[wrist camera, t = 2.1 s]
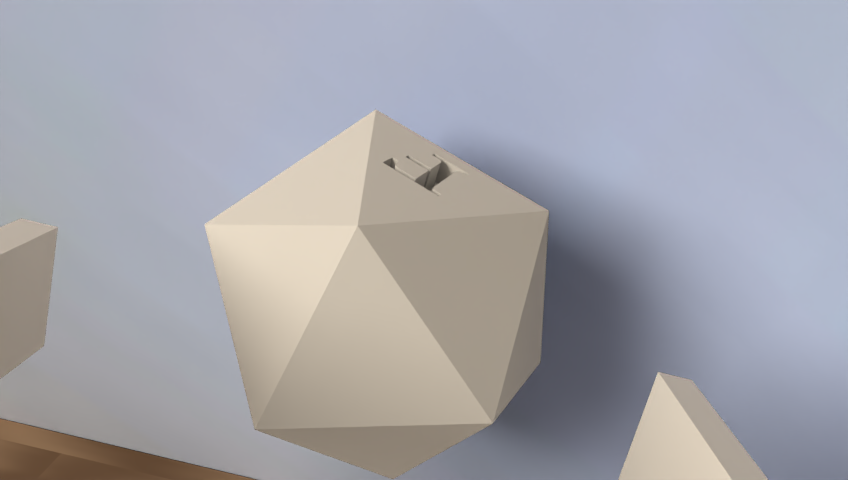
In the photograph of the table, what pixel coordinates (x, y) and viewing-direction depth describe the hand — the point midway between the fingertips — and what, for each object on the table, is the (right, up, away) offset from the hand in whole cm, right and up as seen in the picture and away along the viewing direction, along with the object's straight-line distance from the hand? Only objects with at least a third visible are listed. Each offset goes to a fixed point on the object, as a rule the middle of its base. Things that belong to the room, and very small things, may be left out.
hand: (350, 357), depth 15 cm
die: (+1, +2, +7) cm, 7 cm away
